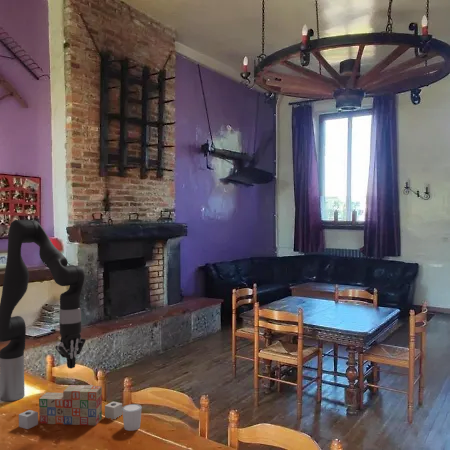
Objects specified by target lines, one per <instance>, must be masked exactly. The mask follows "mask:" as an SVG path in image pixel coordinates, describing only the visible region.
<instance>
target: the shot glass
mask: <svg viewBox="0 0 450 450" xmlns="http://www.w3.org/2000/svg"><path fill="white" fill-rule="evenodd" d="M142 409H143V407H142V405H141V404H138V403H131V404H126V405H124V406H122V420H123V429H124V430H126V431H128V432H129V431H137V430H139V429H141V420H142Z"/></svg>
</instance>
